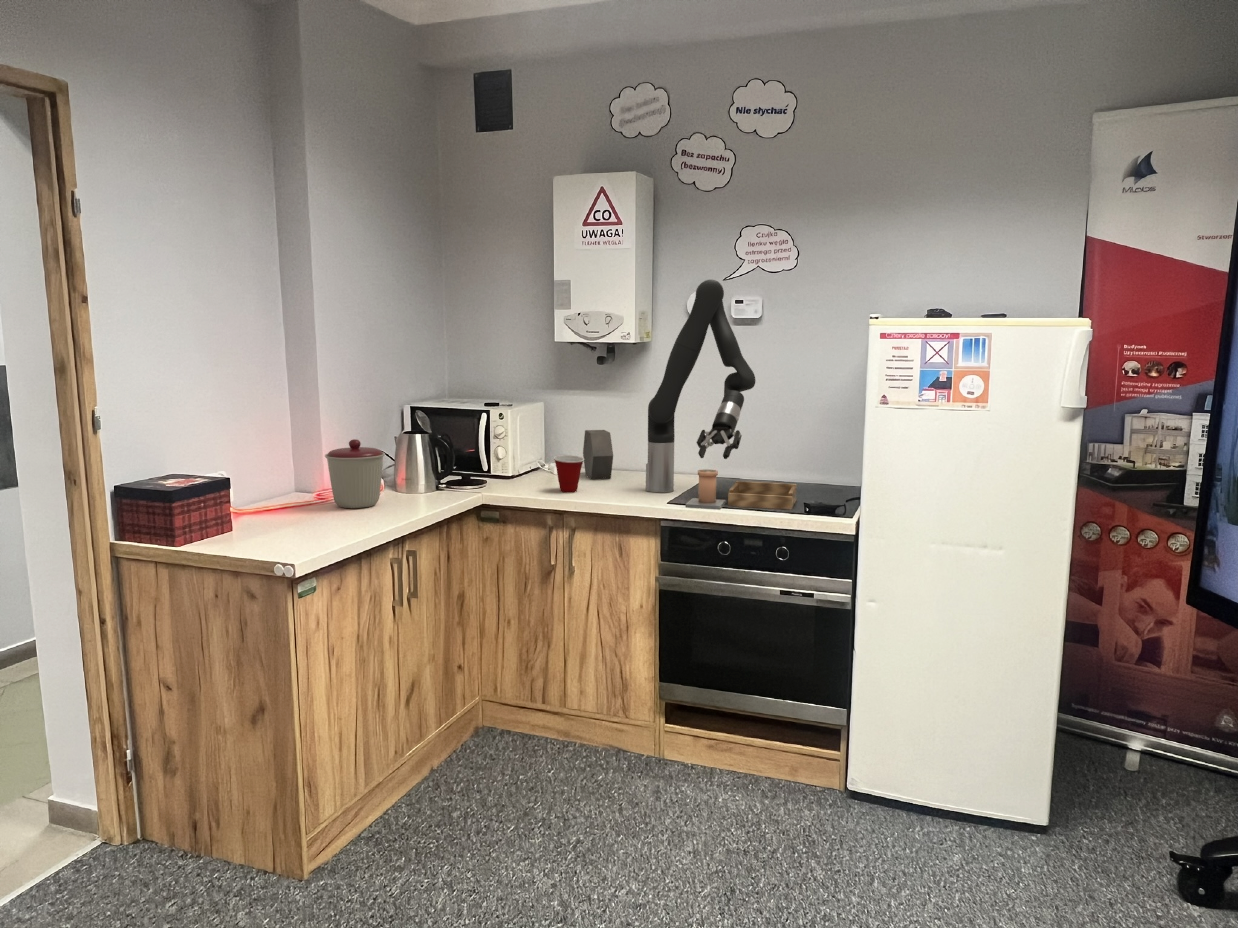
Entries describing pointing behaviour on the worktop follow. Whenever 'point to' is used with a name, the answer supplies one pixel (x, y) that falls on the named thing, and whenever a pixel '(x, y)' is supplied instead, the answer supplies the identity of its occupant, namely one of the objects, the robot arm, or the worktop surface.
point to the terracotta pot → (707, 486)
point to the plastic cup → (568, 471)
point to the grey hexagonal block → (598, 454)
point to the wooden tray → (762, 495)
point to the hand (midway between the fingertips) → (712, 457)
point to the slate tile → (705, 504)
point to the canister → (355, 475)
